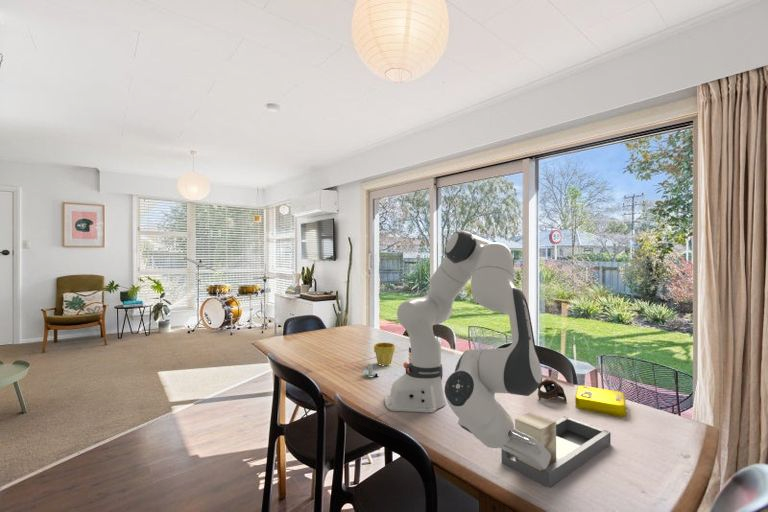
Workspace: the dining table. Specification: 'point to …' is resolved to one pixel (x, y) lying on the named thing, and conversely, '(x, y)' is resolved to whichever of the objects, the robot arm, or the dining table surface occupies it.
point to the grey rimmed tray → (565, 451)
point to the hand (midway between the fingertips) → (517, 454)
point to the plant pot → (384, 353)
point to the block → (538, 433)
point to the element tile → (601, 401)
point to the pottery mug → (551, 390)
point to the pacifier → (369, 370)
